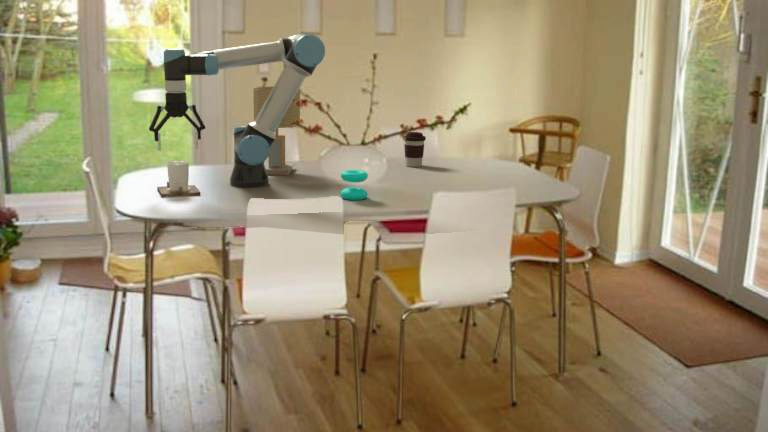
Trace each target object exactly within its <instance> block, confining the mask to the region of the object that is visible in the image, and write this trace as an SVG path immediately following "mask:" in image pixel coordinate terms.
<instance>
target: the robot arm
mask: <svg viewBox="0 0 768 432" xmlns="http://www.w3.org/2000/svg"><path fill="white" fill-rule="evenodd" d="M325 56H326V47H325V43H324V42H323V40H322V39H321V38H320V37H318V36H317V35H316V34H313V33H307V32H301V33H298V34H294V35H292V36H291V35H290V36H285V37H280V38H279V40H276V41H272V42H271V41H270V42H264V43H258V44H257V43H256V44H249V45H243V46H235V47H228V48H222V49H214V50H210V51H209V50H208V51H198V52H195V53H194V54H187V53H186V52H185V50H184V49H183V48H167V49H165V50H164V51H163V72H164V88H165V89H164V91H165V95H164V96H165V98H164V99H165V105H159V104H158V105H157V106H156V111H155V115H154V116H153V119H152V120H151V123H150V125H149V128H148V130H149V131H150V132H151V133H154V137H153V138H154V141H155V142H157V151H162V145H161V144H162V143H161V142H162V141H161V140H162V139H161V132H160V130H161V129H162V127H164V125H165V124H166V122H167V121H168V120H169V119H170V118H183V117H185V118H186V120H187V121H188V122H189V123H190V125H192V126H193V127H194V129H195V130H194V148H195V149H196V150H198V149H199V140H201V139H202V138H201V137H202V136H201V135H202V134H201V133H202V131H203V130H206V126H205V124H204V121H203V120H202V118H201V117H200V115H199V113H198V111H197V107H196V105H195V104H194V103H193V104H189V105H188V102H187V100H188V99H187V98H188V97H187V92H186V91H187V83H186V82H187V81H186V78H187V77H186V76H215V75H216V76H217V75H218V74H219V71H221V70H227V69H234V68H235V69H236V68H242V67H249V66H256V65H263V64H270V63H276V62H282V63H283V64H285V66H284V68H283V69H282V71H281V73H280V75H279V76H278V78H277V79H276V82H275V83H274V85H273V86H272V87H273V89H272V91H271V93H270V94H269V96H268V98H267V100H266V102H265V103H264V105H263V107H262V109H261V110H260V112H259V114H258V116H257V118H256V119H255V121H254V120H253V121H252V122H249V123H248V124H247V125H246V126H245V125H243V126H234V129H233V133H232V134H233V150H234V151H233V155H234V156H233V157H234V159H233V160H234V161H233V163H234V165H233V169H232V171H231V175H230V178H229V185H230V186H233V187H239V188H260V187H265V186H268V185H269V184H270V182H269V181H270V180H269V174H267V172H266V169H265V166H264V163H265V161H266V160H267V159H268V156H269V153H270V148H271V146H272V144H273V143H274V141H275V139H276V137H275V131H276V129H277V127H278V125H279V124H280V122H281V120H282V118H283V117H284V115H285V113H286V111H287V109H288V108H289V106H290V104H291V102H292V101H293V99H294V97H295V95H296V93H297V92H298V90H299V89H301V87H302V84H303V83H304V81H305V79H306V78H307V77H311V76H312V75H313V73H314V71H315V70H316V68H317V66H318V65H320V64H321V63H322V62H323V61H324V58H325ZM188 109H189V110H190V111H192V113H193V115H194V116H195V118H196V120H197V122H198V124H199V125H198V124H197V123H196V122H195V121H194V120H193V119H192V118H191V116H189V114H188V113H187V111H188ZM164 110H165V112H166V114H165V115H164V117H163V118H162V119H161V120H160V121H159V117H160V115H161V113H162V112H163V111H164ZM158 121H159V123H158V124H157V122H158Z"/></svg>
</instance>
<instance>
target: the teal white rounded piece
mask: <svg viewBox="0 0 768 432" xmlns="http://www.w3.org/2000/svg"><path fill="white" fill-rule="evenodd" d="M340 177H341V179H342V180H343V181H344V182H346V183H347V182H348V183H362V182H365V181H366V180H367V179H368V178H369V174H368V173H367V172H366V171H365V170H361V169H346V170H344V171H343V170H342V172H341V173H340ZM340 196H341V198H342V199H344V200H346V201H347V200H349V201H361V200H365V199H366V198H367V197H368V191H367V190H366V189H365V188H361V187H357V186H355V187H354V186H353V187H351V186H350V187H346V188H344V189H342V190H341V192H340Z"/></svg>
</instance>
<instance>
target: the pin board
mask: <svg viewBox="0 0 768 432" xmlns="http://www.w3.org/2000/svg"><path fill="white" fill-rule="evenodd" d="M156 190H157V191H158V193H159V195H160V197H161V198H175V197H196V196H201V191H200V190H199V188H198V187H197V186H196V185H194V184H188V189H186V190H183V187H179V191H176V190H170V188H169V181H167V182H166V186H157V189H156Z"/></svg>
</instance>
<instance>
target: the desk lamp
mask: <svg viewBox="0 0 768 432" xmlns="http://www.w3.org/2000/svg"><path fill="white" fill-rule="evenodd" d="M273 87H274V86H258V87H257V86H256V87H253V90H252V91H253V97H252V98H253V122H254V121H255V119H256V118H257V116H258V114H259V112H260V110H261V109H262V107H263V105H264V103H265V102H266V100H267V98H268V96H269V94H270V93H271V91H272V89H273ZM294 100H295V101H300V102H301V88H299V90H298V92H297V93H296V95H295V97H294ZM282 119H284V120H285V121H287V122H290V123H291V122H294V121H295V120H297V119H300V120H301V106H300V107H297V106H296V105H295V104H294V103H292V102H291V104H290V106H289V108H288V109H287V111H286V113H285V115H284V117H283V118H282ZM287 122H284V121H281V122H280V124H279V125H278V127H277V129H276V131H275V137H276V139H275V141H274V143H273V144H272V146H271V148H270V153H269V156H268V158H267V159H268V162H264V166H265V169H266V172H267V175H275V176H276V175H279V176H280V175H283V176H286V175H287V176H288V175H290V173H291V172H292V170H293V168H294V166H295V165H296V164H295V163H288V162H287V163H286V135H285V134H284V135H282V134H280V135H279V129H280V128H281V129H285V128H294V127H295V128H296V127H297V126H291V125H290V124H289V123H287Z"/></svg>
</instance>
